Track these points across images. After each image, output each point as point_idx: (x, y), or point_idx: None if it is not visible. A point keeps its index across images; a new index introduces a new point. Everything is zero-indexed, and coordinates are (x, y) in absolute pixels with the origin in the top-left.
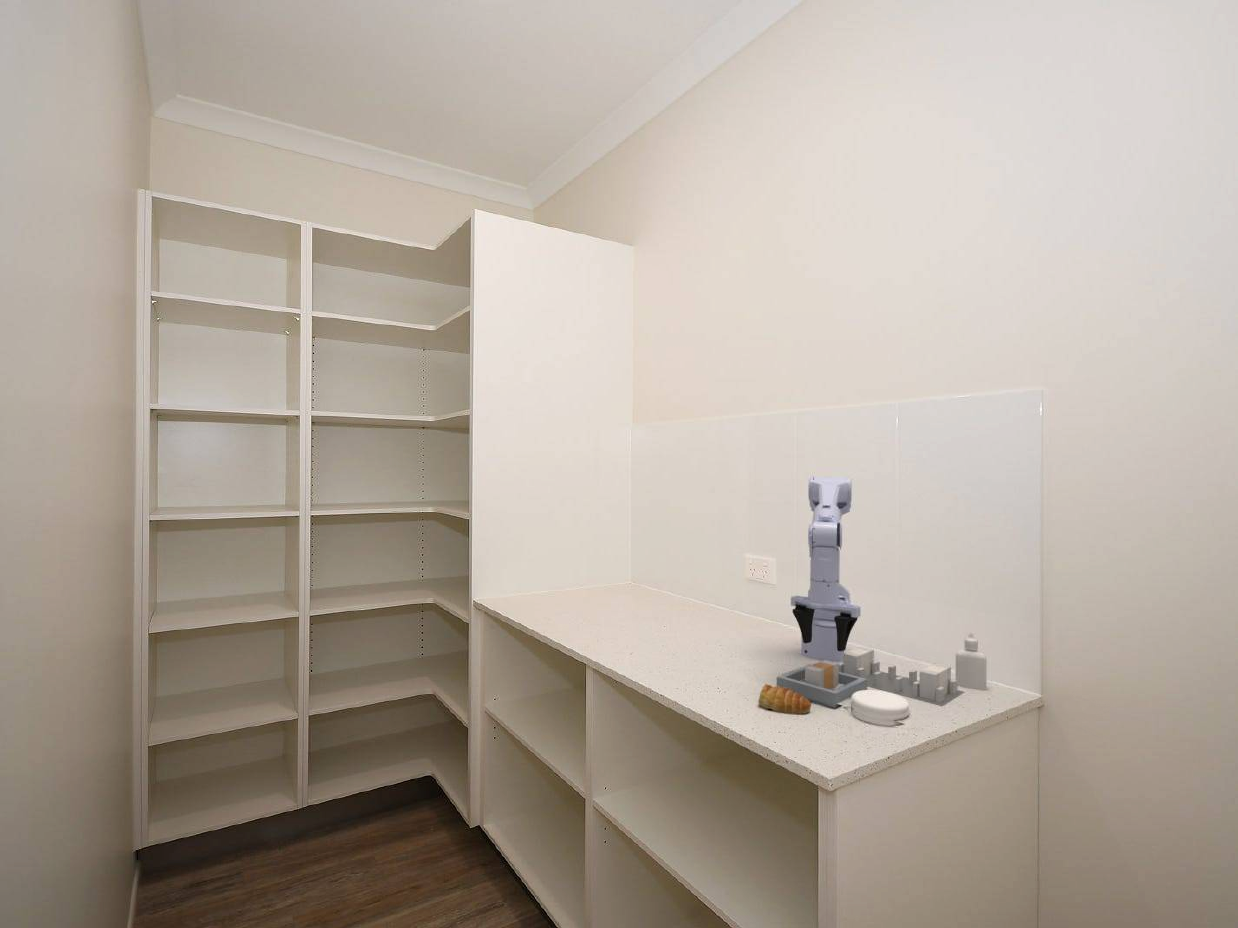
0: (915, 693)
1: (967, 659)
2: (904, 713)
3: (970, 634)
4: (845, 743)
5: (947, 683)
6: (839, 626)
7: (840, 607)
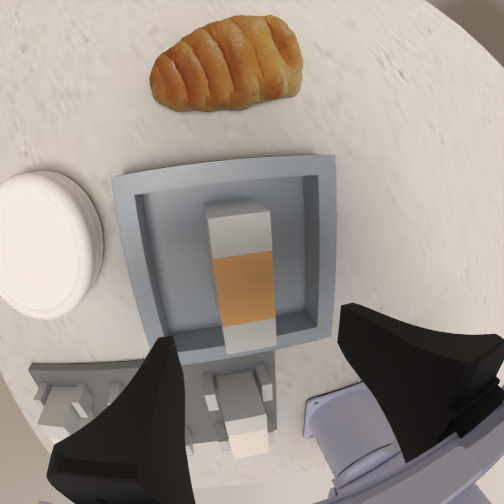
0: (79, 387)
1: None
2: None
3: None
4: (21, 43)
5: None
6: (119, 424)
7: None
